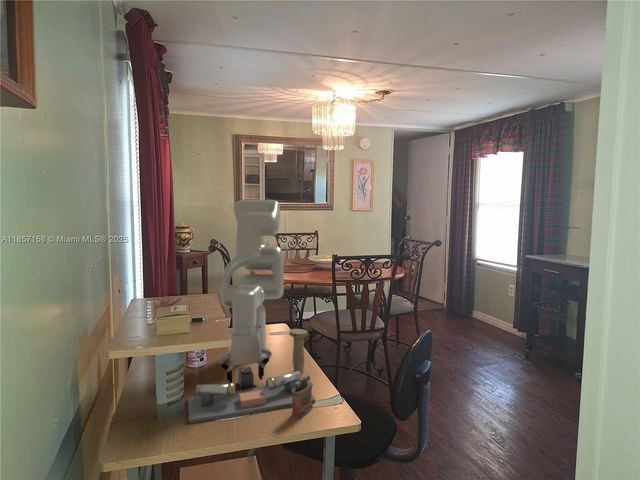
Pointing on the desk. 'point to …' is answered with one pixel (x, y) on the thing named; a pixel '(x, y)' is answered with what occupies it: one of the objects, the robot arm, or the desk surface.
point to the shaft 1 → (213, 392)
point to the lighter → (302, 397)
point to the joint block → (245, 378)
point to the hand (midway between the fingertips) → (245, 380)
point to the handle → (298, 348)
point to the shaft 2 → (284, 381)
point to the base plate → (234, 405)
